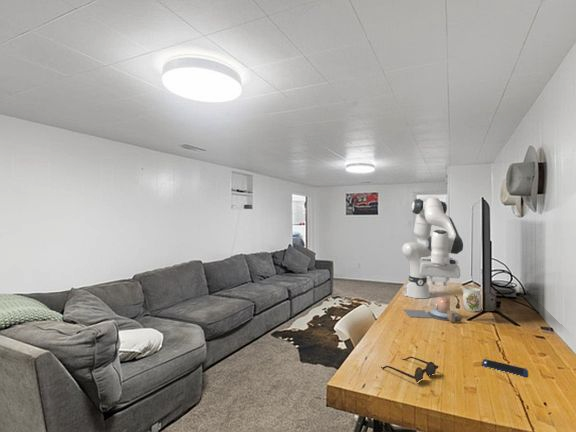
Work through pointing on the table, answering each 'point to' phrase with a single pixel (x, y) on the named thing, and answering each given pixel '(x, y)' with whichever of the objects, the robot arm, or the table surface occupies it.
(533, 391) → the table surface
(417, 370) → the eyeglasses
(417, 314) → the mat
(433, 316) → the base plate
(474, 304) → the pitcher
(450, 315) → the turntable
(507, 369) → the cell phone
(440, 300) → the jug
